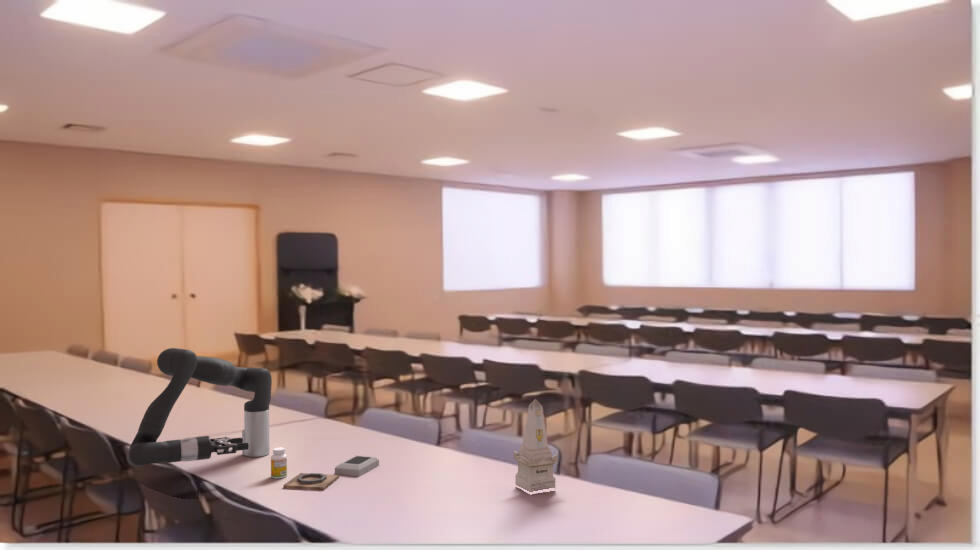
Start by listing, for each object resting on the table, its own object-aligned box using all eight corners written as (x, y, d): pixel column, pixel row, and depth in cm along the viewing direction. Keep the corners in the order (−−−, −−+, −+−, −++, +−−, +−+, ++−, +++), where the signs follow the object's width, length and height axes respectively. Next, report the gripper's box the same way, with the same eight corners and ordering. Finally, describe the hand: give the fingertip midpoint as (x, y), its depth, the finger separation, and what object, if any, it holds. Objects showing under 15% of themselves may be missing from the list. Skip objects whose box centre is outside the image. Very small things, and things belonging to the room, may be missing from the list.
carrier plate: (283, 488, 250) (283, 482, 250) (300, 475, 264) (300, 470, 264) (323, 490, 248) (323, 484, 248) (339, 477, 261) (339, 472, 261)
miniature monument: (529, 496, 243) (530, 402, 242) (513, 487, 252) (513, 397, 251) (557, 491, 247) (557, 400, 246) (540, 482, 257) (541, 394, 256)
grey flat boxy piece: (334, 464, 266) (355, 453, 280) (334, 475, 266) (355, 463, 281) (358, 467, 263) (379, 456, 277) (358, 477, 263) (379, 466, 277)
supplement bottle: (272, 474, 265) (272, 446, 265) (288, 474, 266) (288, 446, 265) (269, 479, 260) (269, 450, 260) (285, 478, 260) (285, 450, 260)
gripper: (198, 441, 242) (250, 436, 250) (190, 433, 254) (240, 428, 262) (198, 465, 242) (250, 459, 250) (190, 455, 254) (240, 449, 263)
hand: (245, 443), depth 256 cm, fingers open, 8 cm apart
